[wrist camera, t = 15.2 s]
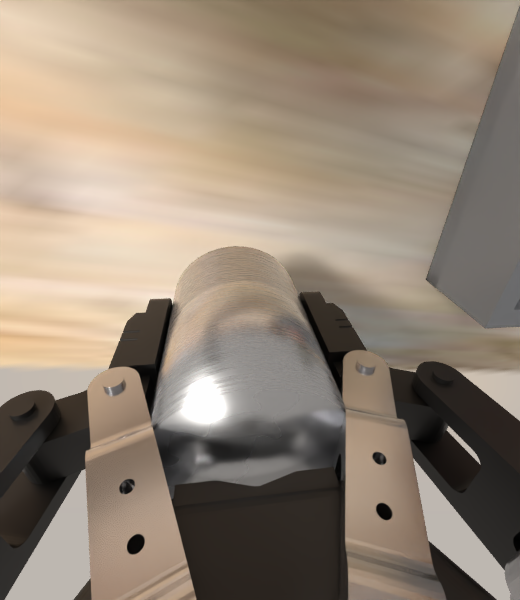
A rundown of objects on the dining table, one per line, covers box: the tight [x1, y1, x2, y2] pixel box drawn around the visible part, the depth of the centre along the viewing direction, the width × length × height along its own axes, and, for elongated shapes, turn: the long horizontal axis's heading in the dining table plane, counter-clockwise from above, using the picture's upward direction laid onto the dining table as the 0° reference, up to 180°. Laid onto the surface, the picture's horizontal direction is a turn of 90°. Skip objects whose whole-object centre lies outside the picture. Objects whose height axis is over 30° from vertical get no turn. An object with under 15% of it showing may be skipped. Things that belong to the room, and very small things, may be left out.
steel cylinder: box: [150, 246, 346, 499], centre depth 10 cm, size 5×5×7 cm
